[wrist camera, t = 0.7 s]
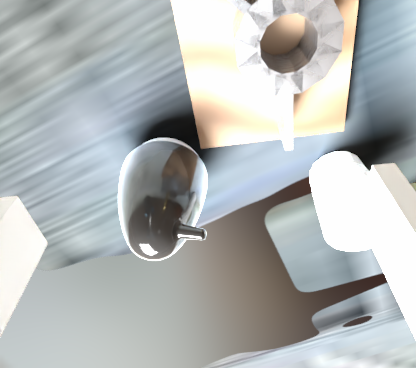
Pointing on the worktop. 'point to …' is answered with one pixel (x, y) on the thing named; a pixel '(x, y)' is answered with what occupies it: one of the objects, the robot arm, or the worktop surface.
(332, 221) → the white cup
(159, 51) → the worktop surface
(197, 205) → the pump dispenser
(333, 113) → the mount board
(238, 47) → the white piece
